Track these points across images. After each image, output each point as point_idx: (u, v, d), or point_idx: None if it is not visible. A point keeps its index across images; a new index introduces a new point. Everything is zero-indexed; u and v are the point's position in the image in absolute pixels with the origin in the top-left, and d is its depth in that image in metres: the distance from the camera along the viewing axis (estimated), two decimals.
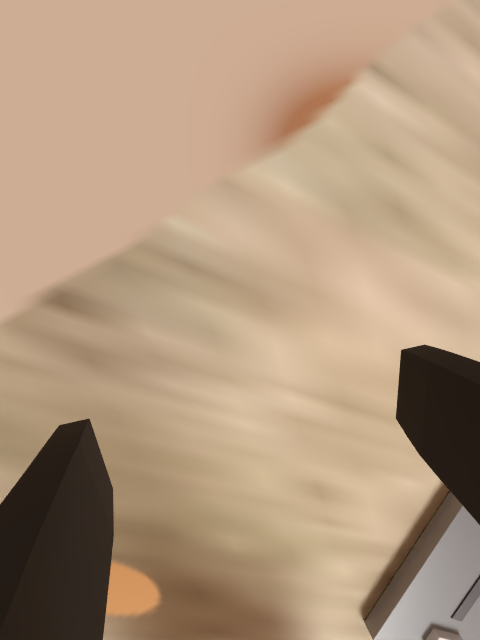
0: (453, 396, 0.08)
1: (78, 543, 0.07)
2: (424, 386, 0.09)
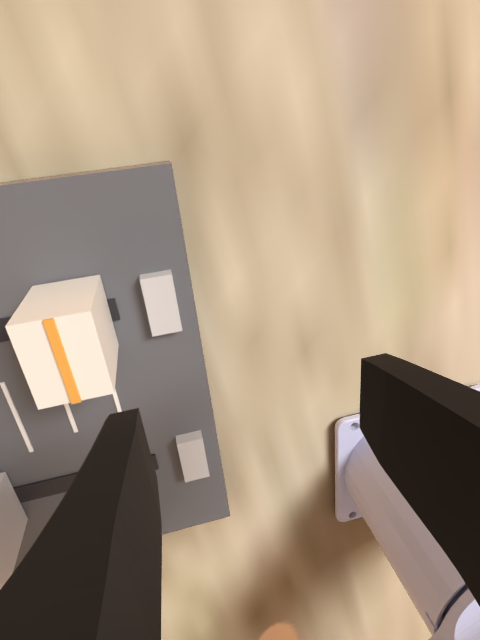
0: (407, 407, 0.08)
1: (141, 527, 0.07)
2: (381, 396, 0.09)
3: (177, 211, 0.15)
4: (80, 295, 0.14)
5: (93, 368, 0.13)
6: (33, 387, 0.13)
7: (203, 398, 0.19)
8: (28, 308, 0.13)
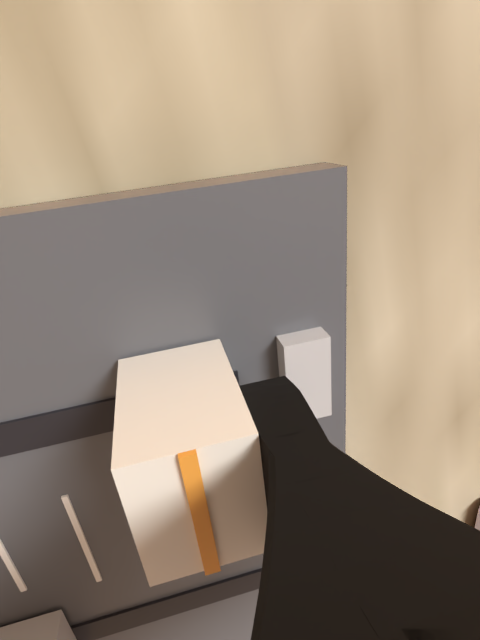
0: None
1: None
2: None
3: (344, 241, 0.10)
4: (214, 388, 0.08)
5: (246, 519, 0.08)
6: (146, 557, 0.07)
7: None
8: (135, 417, 0.08)
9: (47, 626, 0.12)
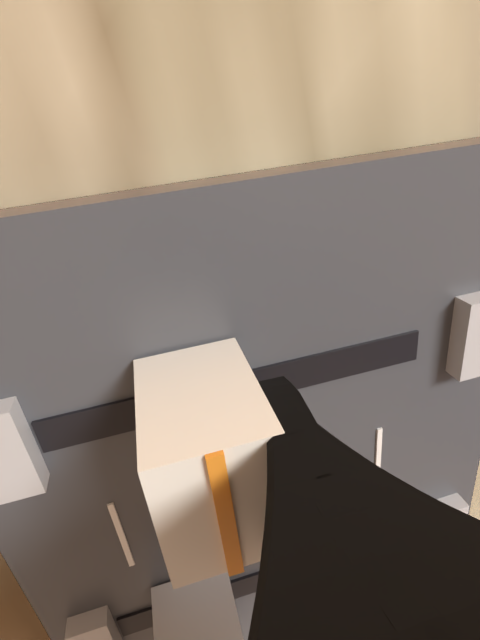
0: None
1: None
2: None
3: None
4: (235, 387, 0.08)
5: None
6: (171, 559, 0.07)
7: (472, 454, 0.14)
8: (157, 418, 0.07)
9: (218, 578, 0.13)
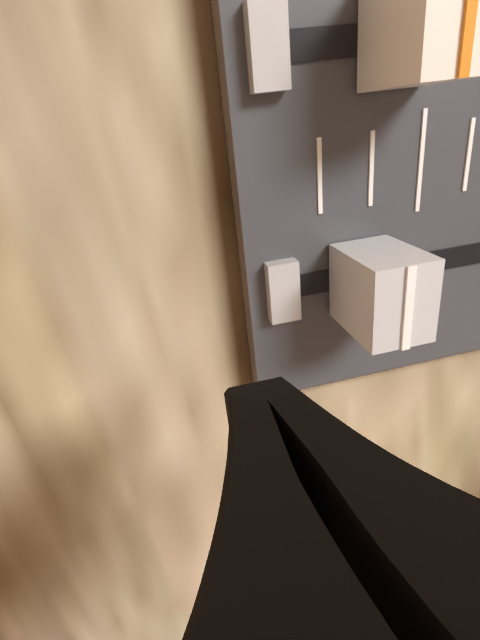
0: (282, 438, 0.07)
1: None
2: None
3: None
4: None
5: None
6: (427, 43, 0.10)
7: None
8: None
9: (383, 238, 0.16)
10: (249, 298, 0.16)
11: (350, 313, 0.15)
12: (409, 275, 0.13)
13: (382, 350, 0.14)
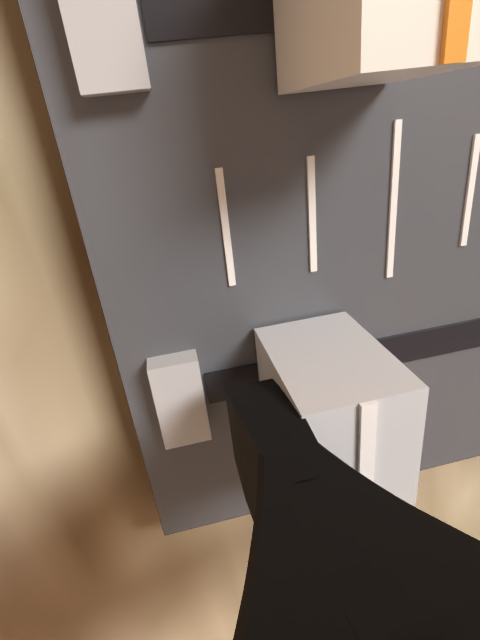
0: (246, 447, 0.07)
1: None
2: (235, 431, 0.08)
3: None
4: None
5: None
6: None
7: None
8: None
9: (339, 320, 0.10)
10: None
11: None
12: (365, 419, 0.07)
13: None
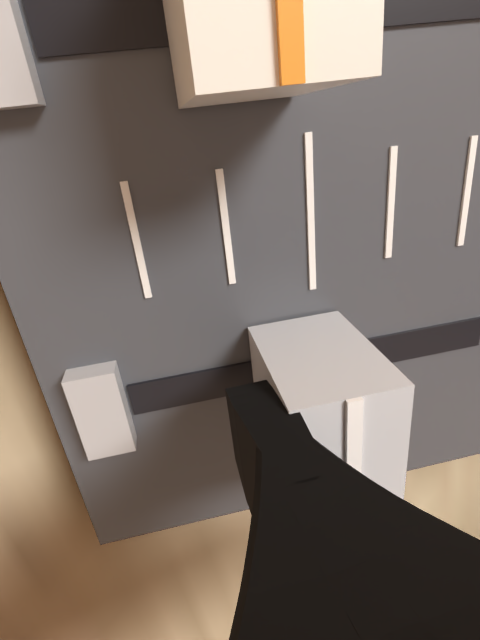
0: (246, 447, 0.07)
1: None
2: (236, 431, 0.08)
3: None
4: None
5: None
6: (195, 8, 0.05)
7: None
8: None
9: (331, 319, 0.10)
10: (53, 419, 0.11)
11: None
12: (351, 415, 0.07)
13: None
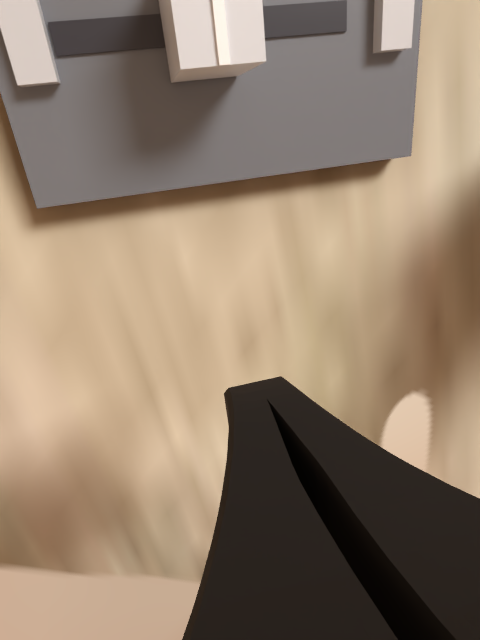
0: (282, 438, 0.07)
1: None
2: None
3: None
4: None
5: None
6: None
7: None
8: None
9: None
10: None
11: (170, 41, 0.12)
12: None
13: (194, 63, 0.11)
